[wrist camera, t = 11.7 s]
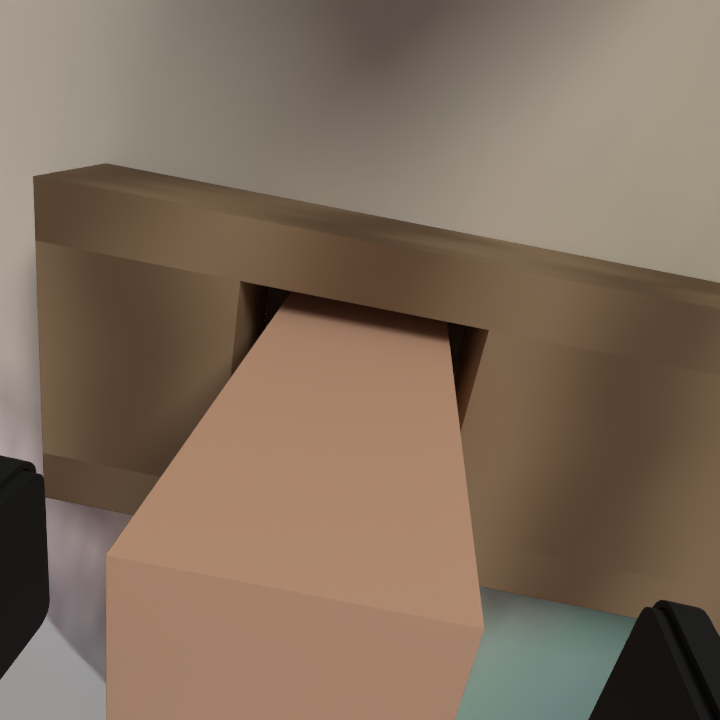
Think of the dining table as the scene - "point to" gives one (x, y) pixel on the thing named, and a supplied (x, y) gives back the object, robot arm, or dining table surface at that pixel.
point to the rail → (472, 375)
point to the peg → (306, 537)
